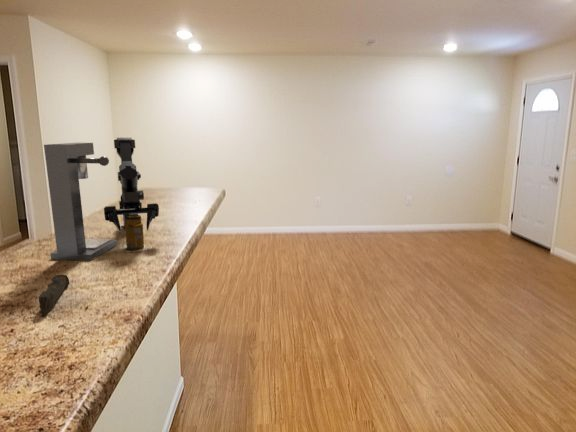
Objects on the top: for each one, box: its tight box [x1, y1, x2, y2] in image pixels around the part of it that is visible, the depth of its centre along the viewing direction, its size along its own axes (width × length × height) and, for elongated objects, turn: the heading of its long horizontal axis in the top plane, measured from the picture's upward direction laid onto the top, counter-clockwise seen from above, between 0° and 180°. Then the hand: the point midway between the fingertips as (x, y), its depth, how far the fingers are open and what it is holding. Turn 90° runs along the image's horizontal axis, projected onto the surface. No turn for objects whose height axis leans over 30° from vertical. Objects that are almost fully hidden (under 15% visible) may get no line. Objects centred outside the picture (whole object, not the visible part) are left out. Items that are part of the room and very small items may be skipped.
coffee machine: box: [43, 142, 118, 261], centre depth 138 cm, size 20×22×38 cm
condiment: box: [123, 214, 148, 253], centre depth 146 cm, size 7×8×12 cm
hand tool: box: [38, 274, 70, 317], centre depth 103 cm, size 19×4×5 cm, turn 14°
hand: (134, 231), depth 145 cm, fingers open, 9 cm apart
